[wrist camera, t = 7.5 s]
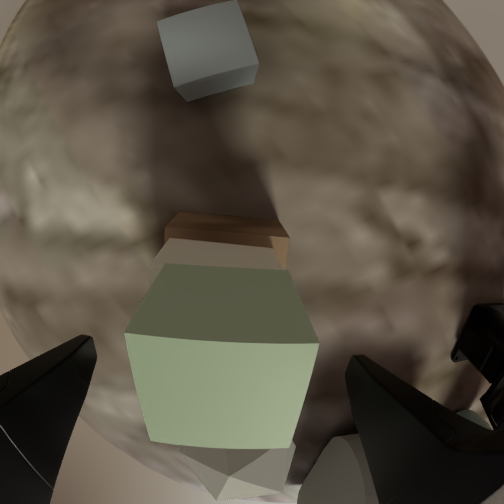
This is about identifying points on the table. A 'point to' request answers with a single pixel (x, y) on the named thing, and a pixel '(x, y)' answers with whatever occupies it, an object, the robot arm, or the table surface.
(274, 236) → the tower base
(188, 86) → the slate cube
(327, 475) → the alarm clock
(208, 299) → the sage cube
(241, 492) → the die
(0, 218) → the table surface
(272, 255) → the tower top
